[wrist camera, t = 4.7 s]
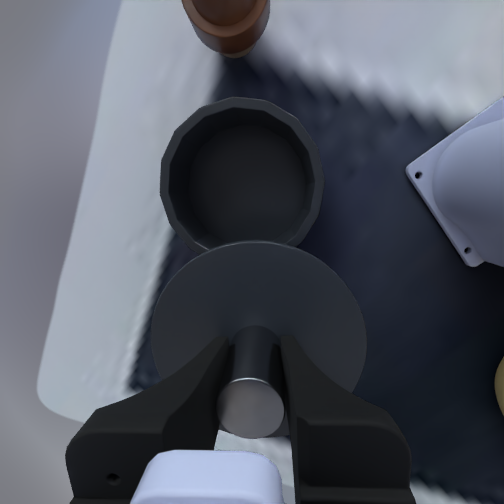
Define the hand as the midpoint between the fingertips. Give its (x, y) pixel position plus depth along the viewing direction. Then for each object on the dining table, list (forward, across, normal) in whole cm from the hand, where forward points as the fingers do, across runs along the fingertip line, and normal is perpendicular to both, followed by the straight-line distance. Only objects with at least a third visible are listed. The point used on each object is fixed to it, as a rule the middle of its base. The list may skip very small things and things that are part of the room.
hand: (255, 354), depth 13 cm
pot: (+10, +1, -8) cm, 13 cm away
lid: (+1, 0, 0) cm, 1 cm away
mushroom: (+10, +1, -19) cm, 21 cm away
